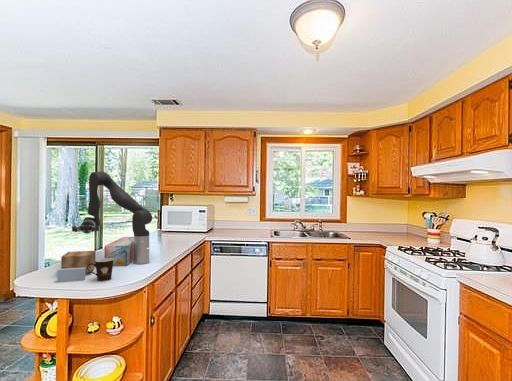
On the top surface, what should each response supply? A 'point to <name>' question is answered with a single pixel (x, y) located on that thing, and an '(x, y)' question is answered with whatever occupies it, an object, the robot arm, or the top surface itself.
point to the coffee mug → (103, 268)
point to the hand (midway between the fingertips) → (84, 230)
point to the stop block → (70, 274)
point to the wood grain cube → (78, 260)
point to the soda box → (121, 251)
